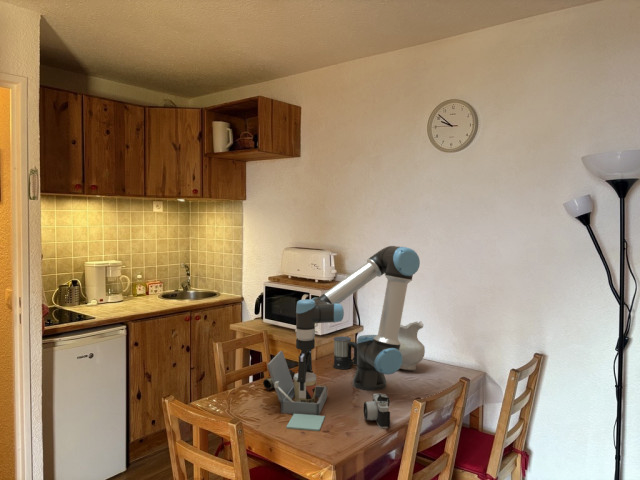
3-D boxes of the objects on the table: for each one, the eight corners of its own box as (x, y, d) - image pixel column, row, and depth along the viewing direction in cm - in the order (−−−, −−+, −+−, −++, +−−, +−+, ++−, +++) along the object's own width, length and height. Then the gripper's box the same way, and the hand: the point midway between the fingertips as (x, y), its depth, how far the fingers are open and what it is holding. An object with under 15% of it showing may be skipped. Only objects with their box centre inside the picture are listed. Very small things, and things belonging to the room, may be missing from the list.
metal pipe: (271, 390, 205) (271, 377, 205) (259, 387, 210) (259, 374, 209) (297, 381, 220) (297, 368, 220) (286, 378, 224) (286, 366, 224)
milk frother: (331, 368, 240) (331, 339, 239) (337, 360, 255) (337, 332, 255) (359, 371, 236) (359, 341, 236) (363, 362, 252) (364, 334, 251)
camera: (360, 412, 184) (361, 387, 184) (383, 411, 185) (383, 386, 185) (368, 429, 169) (368, 402, 169) (392, 429, 170) (393, 401, 169)
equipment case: (327, 397, 200) (327, 353, 200) (318, 416, 180) (319, 367, 179) (279, 393, 204) (280, 350, 203) (266, 412, 184) (266, 364, 183)
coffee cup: (299, 410, 185) (299, 380, 185) (289, 402, 194) (289, 373, 193) (320, 406, 190) (320, 377, 189) (310, 398, 198) (310, 370, 198)
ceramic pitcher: (377, 369, 238) (377, 320, 237) (387, 359, 256) (387, 314, 255) (420, 375, 230) (421, 324, 229) (427, 364, 248) (428, 317, 247)
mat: (324, 417, 179) (324, 415, 179) (319, 431, 167) (319, 429, 167) (293, 415, 181) (293, 413, 181) (286, 428, 169) (286, 426, 169)
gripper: (302, 331, 202) (301, 383, 203) (289, 344, 181) (289, 402, 181) (319, 332, 201) (318, 385, 202) (309, 345, 179) (308, 404, 180)
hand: (304, 393), depth 191 cm, fingers closed on coffee cup, 9 cm apart
